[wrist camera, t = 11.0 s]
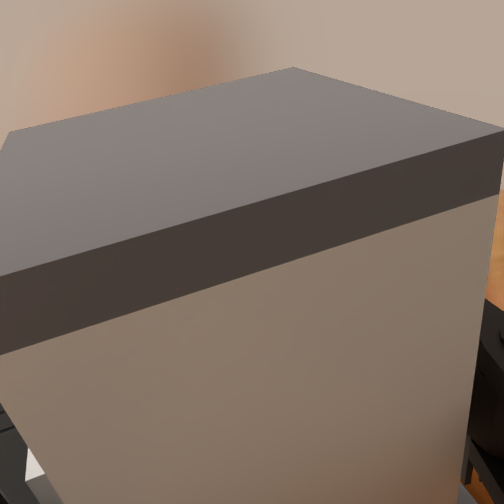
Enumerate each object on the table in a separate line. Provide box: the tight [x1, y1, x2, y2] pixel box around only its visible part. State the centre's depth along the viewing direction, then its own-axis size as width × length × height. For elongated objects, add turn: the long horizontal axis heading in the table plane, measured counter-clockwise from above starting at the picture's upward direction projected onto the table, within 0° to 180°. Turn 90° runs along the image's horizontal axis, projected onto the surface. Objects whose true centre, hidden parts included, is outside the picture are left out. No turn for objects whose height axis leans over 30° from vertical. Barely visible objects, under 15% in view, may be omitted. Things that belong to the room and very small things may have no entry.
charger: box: [0, 67, 504, 504], centre depth 8 cm, size 4×4×11 cm
